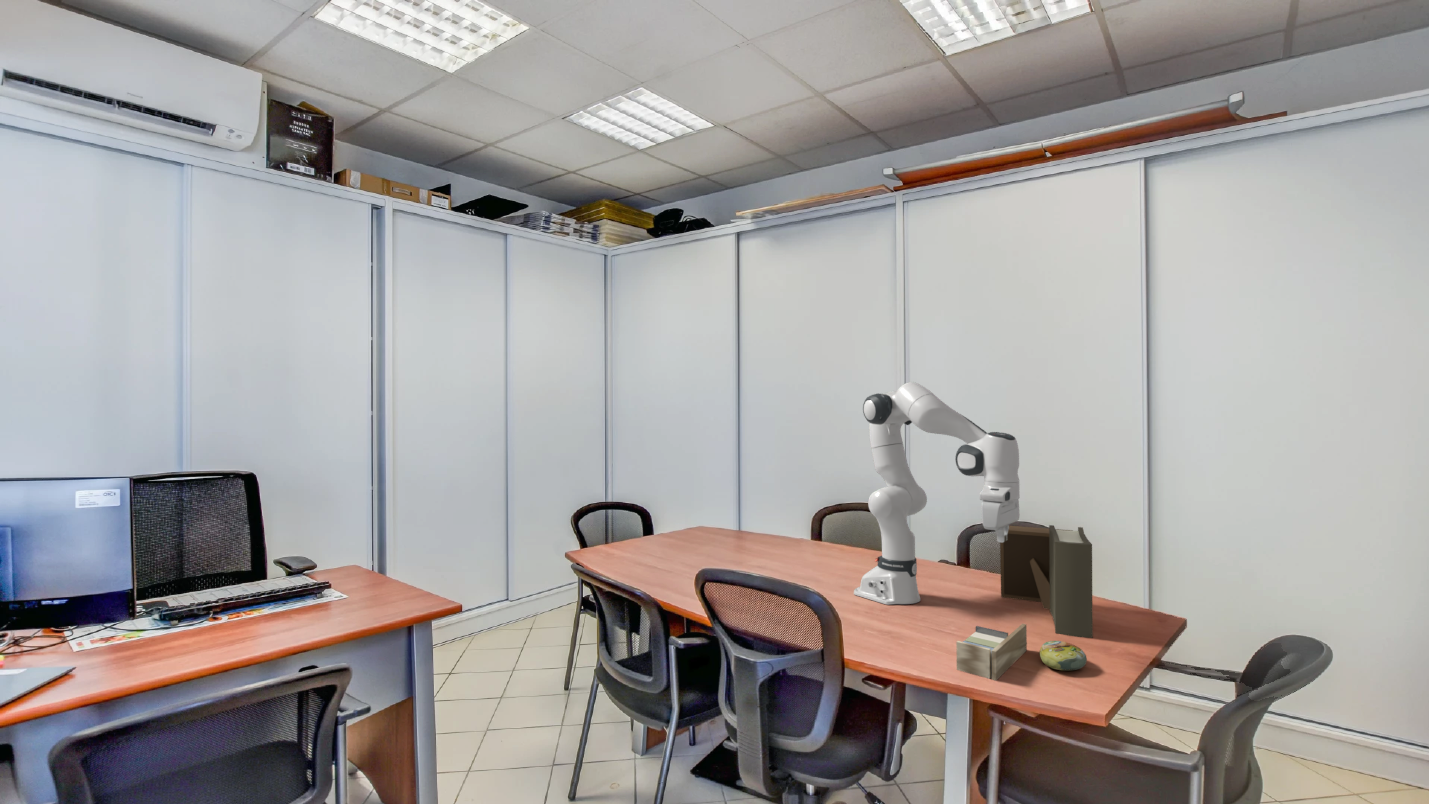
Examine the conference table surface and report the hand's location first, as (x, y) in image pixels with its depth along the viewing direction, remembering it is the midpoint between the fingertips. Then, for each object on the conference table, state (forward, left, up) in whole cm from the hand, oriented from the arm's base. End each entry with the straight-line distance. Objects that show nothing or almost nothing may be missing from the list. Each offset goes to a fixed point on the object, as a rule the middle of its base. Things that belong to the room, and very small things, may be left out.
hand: (1002, 541), depth 171 cm
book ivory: (0, -12, -29) cm, 31 cm away
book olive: (0, -16, -29) cm, 33 cm away
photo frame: (-4, +46, -29) cm, 54 cm away
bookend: (0, -6, -29) cm, 29 cm away
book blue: (0, -20, -29) cm, 35 cm away
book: (+9, +32, -29) cm, 44 cm away
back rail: (0, -11, -29) cm, 31 cm away
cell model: (+15, -2, -29) cm, 33 cm away
